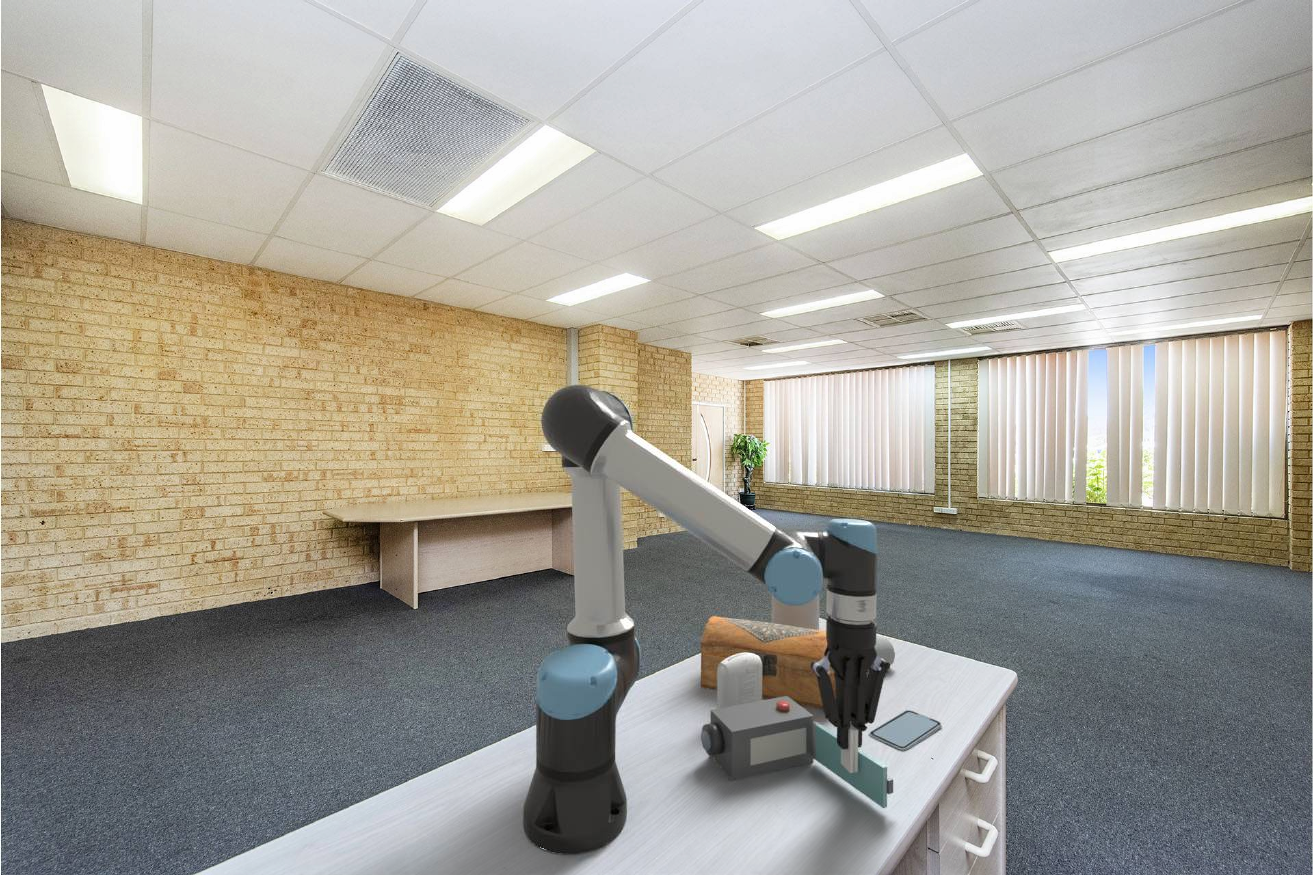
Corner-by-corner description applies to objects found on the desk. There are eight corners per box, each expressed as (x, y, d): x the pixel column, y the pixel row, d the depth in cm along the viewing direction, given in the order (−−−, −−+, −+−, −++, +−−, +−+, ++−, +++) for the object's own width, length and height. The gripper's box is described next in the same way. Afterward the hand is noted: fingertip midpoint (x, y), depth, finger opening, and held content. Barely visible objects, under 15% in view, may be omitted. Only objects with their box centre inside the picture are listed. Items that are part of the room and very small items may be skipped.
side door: (893, 805, 82) (893, 765, 82) (884, 809, 82) (884, 769, 82) (820, 754, 96) (820, 720, 96) (811, 757, 95) (811, 722, 95)
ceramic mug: (897, 670, 135) (897, 639, 135) (871, 675, 132) (871, 643, 132) (866, 655, 144) (865, 626, 145) (841, 660, 141) (841, 630, 142)
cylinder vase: (790, 637, 157) (791, 550, 157) (828, 650, 147) (828, 557, 148) (762, 647, 149) (762, 555, 150) (799, 661, 140) (799, 563, 140)
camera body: (717, 783, 89) (717, 729, 89) (697, 757, 97) (697, 707, 97) (813, 761, 95) (813, 711, 96) (787, 738, 103) (787, 691, 103)
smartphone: (866, 733, 105) (907, 708, 114) (866, 738, 105) (907, 713, 114) (903, 750, 99) (943, 723, 108) (904, 755, 99) (943, 727, 108)
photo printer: (750, 704, 117) (751, 646, 117) (765, 712, 113) (765, 652, 113) (713, 717, 111) (713, 656, 111) (727, 726, 107) (727, 663, 107)
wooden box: (697, 689, 124) (697, 628, 124) (718, 663, 139) (718, 608, 139) (835, 716, 112) (836, 648, 112) (842, 684, 127) (842, 624, 127)
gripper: (826, 627, 82) (824, 786, 81) (902, 623, 85) (900, 777, 84) (802, 612, 89) (800, 758, 89) (872, 609, 92) (871, 750, 91)
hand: (849, 767), depth 86 cm, fingers closed
